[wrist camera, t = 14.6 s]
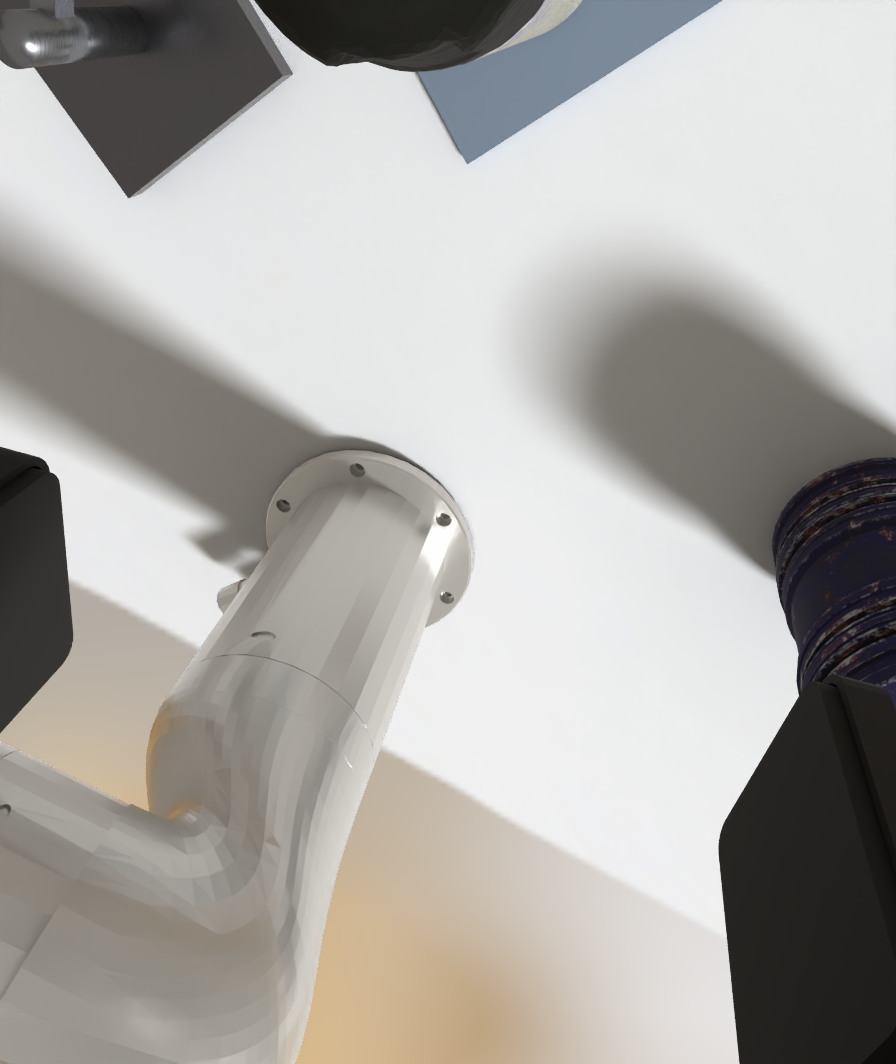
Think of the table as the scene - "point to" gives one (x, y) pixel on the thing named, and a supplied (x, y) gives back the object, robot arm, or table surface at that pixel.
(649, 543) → the table surface
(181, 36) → the ring stand
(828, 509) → the storage jar
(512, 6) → the spray can
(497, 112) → the mat
